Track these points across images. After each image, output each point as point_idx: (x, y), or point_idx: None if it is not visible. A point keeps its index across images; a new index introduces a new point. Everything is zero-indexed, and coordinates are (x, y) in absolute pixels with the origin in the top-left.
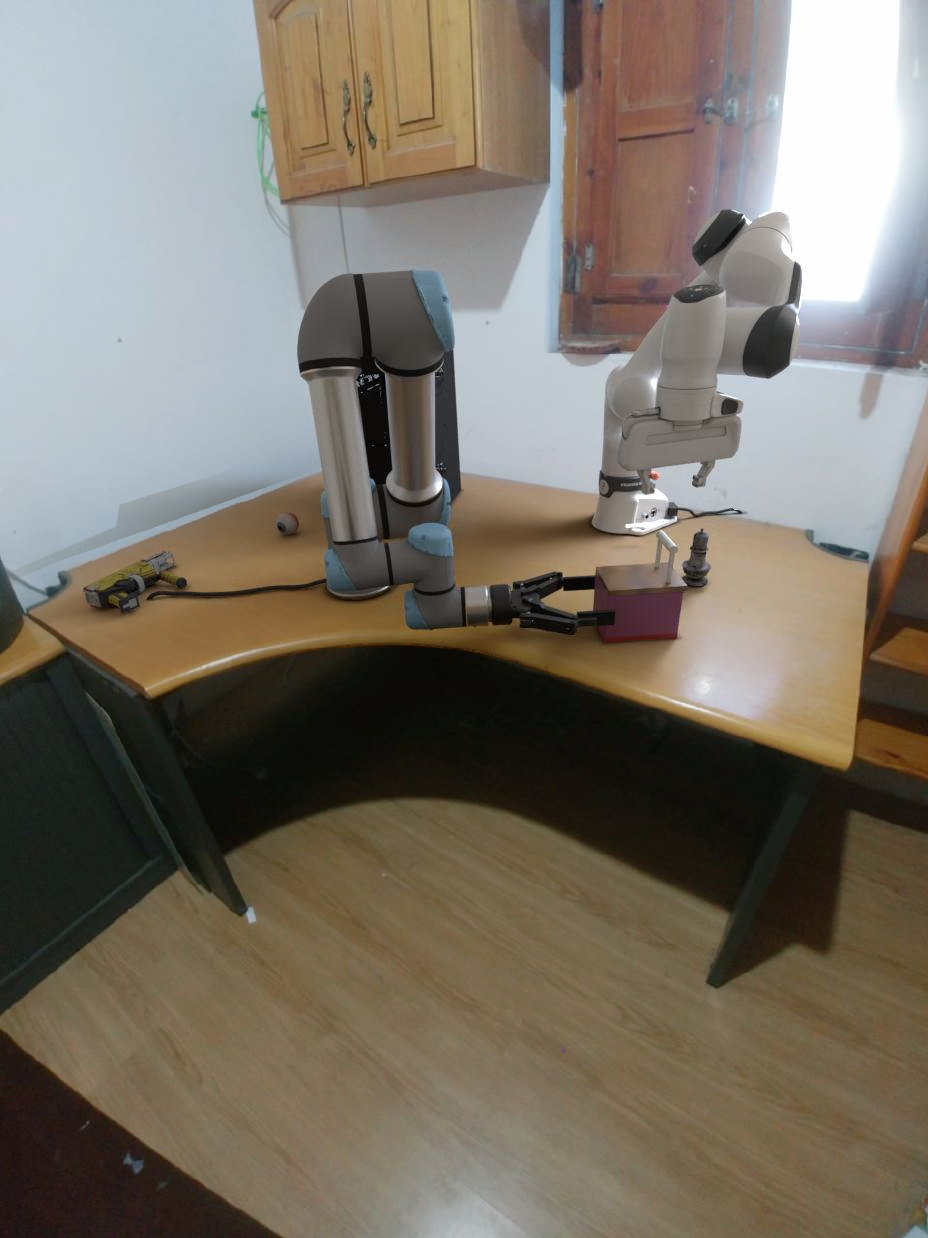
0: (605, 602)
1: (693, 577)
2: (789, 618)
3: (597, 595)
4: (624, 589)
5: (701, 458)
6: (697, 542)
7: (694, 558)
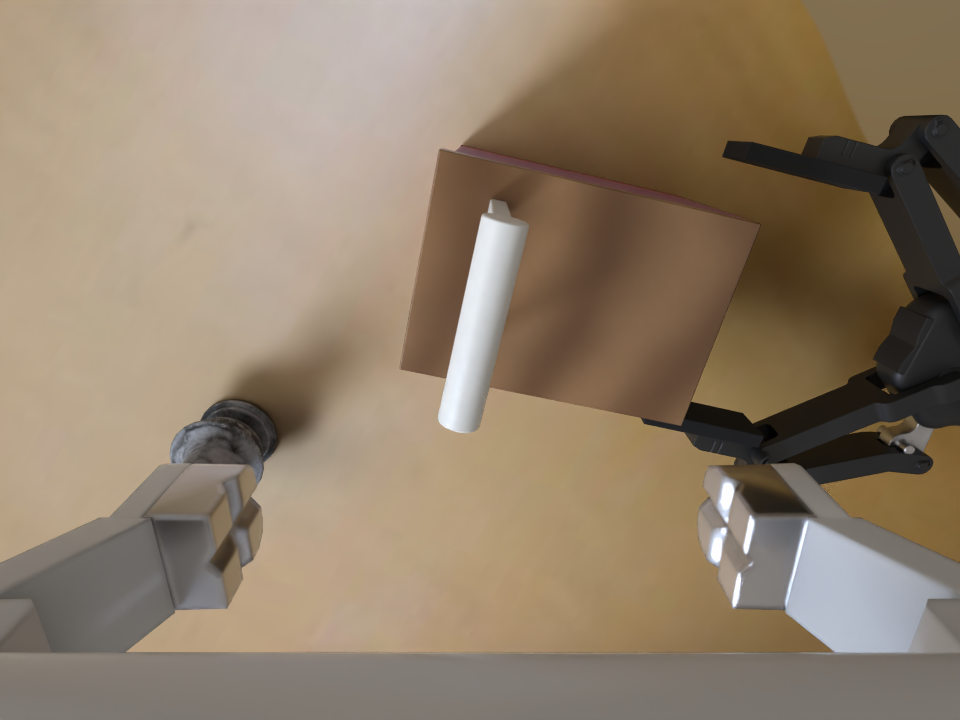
0: None
1: (246, 425)
2: (52, 131)
3: None
4: (698, 212)
5: (85, 694)
6: None
7: None
